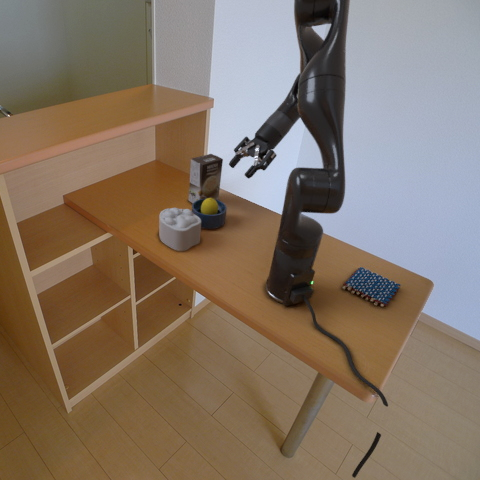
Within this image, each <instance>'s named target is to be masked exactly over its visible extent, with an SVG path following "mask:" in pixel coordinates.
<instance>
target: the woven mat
mask: <svg viewBox="0 0 480 480" xmlns="http://www.w3.org/2000/svg"><path fill="white" fill-rule="evenodd" d="M342 285H343V286H342V290H346V289H347V290H348V291H350V293H351V294H352V295H354V294H355V293H356V295H357V296H359V295H360V294H361V295H360V297H361V298H362V299H363V298H364V297H365V300H366V301H369V302H372V303H373V302H374V303H373V306H376V307H377V306H378V305H379V304H380V307H381V308H383V307H387V305H389V303H390V301H391V300H392V299H393V297H394V296H395V295H396V293H397V292H398V291H399V290H400V289H401V288H400V287H401V286H402V285H401V284H400V283H397V282H396V281H395V280H389V278H388V277H384V276H383V275H381V274H378V273H377V272H373V271H371V270H370V269H367V268H365V267H363V266H361V267H358V268H357V269H356V270H354V272H353V273H352V274H351V275H350V276H349V277H348V279H346V281H345V282H343V284H342Z"/></svg>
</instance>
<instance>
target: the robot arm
mask: <svg viewBox="0 0 480 480" xmlns="http://www.w3.org/2000/svg"><path fill="white" fill-rule="evenodd" d="M350 3H351V0H294V2H293V15H294V16H293V18H294V26H295V32H296V33H295V34H296V38H297V45H298V50H299V73H298V74H297V76H296V77H295V79H294V81H293V84H292V86H291V88H290V90H289V91H288V93H287V95H286V97H285V98H284V100H283V101H282V103H280V105H279V106H278V107H277V108H276V110H274V112H273V113H272V114H270V116H268V117H267V118H266V120H265V121H264V122H263V124H262V125H261V126H260V127H259V128H258V130H257V131H255V133H254V137H253V138H252V139H250V138H249V137H248V136H244V138H243V139H242V140H241V141H240V142H239V143H238V144H237V146H236V147H235V148H233V152H234V153H235V155H234V156H233V157H232V159H230V161H229V163H228V166H229V167H230V168H232V169H235V167H236V166H237V165H238V164H239V163H240V161H241V159H243V158H248V157H251V158H253V159H254V160H253V164H252V165H251V166H250V167H249V168H248V169H247V171H246V172H245V173H244V176H245V178H247V179H251V178H252V177H253V176H254V175H255V174H256V173H257V171H260V170H262V171H266V170H267V169H268V167H269V166H270V165H271V164H272V162H273V161H274V160H275V158H276V157H277V155H278V154H277V153H276V152H275V151H274V149H275V148H276V147H277V146H278V145H279V144H280V142H282V141H283V139H285V137H286V136H287V135H288V133H289V132H290V131H291V129H292V128H293V126H294V125H295V124H296V123H297V122H298V120H301V122H302V123H303V125H304V126H305V128H306V130H307V131H308V133H309V134H310V135H311V137H312V139H313V140H314V142H315V144H316V146H317V148H318V151H319V154H320V158H321V164H322V167H304V166H302V167H301V166H300V167H299V166H298V167H294V168H293V169H292V170H291V171H290V173H289V175H288V178H287V180H286V181H287V182H286V188H285V194H284V201H283V205H282V206H283V207H282V210H281V211H282V212H281V215H280V223H279V227H278V232H277V237H276V242H275V246H274V249H273V255H272V259H271V264H270V268H269V272H268V277H267V279H266V284H265V292H266V294H267V296H269V298H270V299H272V300H273V301H275V302H277V303H280V304H282V306H284V307H289V306H294V305H297V304H300V303H303V302H304V303H305V304H306V306H307V308H308V310H309V312H310V314H311V320H312V323H313V325H314V327H316V329H317V330H318V331H320V333H322V334H323V335H325V336H326V337H329V338H330V339H332V340H334V341H335V342H337V343H338V344H339V345H340V346H341V347H342V348H343V350H344V352H345V354H346V357H347V361H348V364H349V367H350V370H352V372H353V374H354V375H355V376H356V377H357V378H358V380H359V381H361V382H363V384H365V385H366V386H368V387H369V388H371V390H373V391H374V392H375V393H376V394H377V395H378V397H379V398H380V400H381V401H382V404H383V406H384V407H386V408H387V407H389V404H388V401H387V398H386V396H385V395H384V394H383V392H382V391H381V390H380V389H379V388H378V387H377V386H376V385H374V384H373V383H371V382H370V381H369V380H368V379H366V378H365V377H364V376H362V375H361V373H360V372H359V371H358V370H357V368H356V366H355V363H354V361H353V357H352V354H351V352H350V349H349V348H348V346H347V345H346V344H345V343H344V342H343V340H341V339H340V338H338V336H335V335H334V334H331V333H330V332H328V331H326V330H325V329H323V328H322V327H321V326H320V325H319V323H318V321H317V317H316V313H315V310H314V308H313V306H312V305H311V303H310V301H309V299H312V297H313V295H314V293H315V292H314V291H315V289H314V288H312V285H313V283H314V281H313V280H314V277H315V274H316V270H315V269H314V266H315V262H316V258H317V255H318V252H319V248H320V246H321V243H322V239H323V237H324V228H323V226H322V224H321V223H320V222H319V221H317V220H316V219H315V218H312V217H310V216H308V215H305V214H303V213H306V214H307V213H308V214H309V213H310V214H325V215H326V214H328V215H329V214H330V215H332V214H335V213H338V212H339V211H340V210H341V208H342V207H343V204H344V201H345V195H346V166H345V165H346V163H345V148H344V126H345V125H344V123H345V108H346V107H345V106H346V87H347V85H346V84H347V81H346V80H347V77H346V75H347V73H346V72H347V69H346V68H347V67H346V65H347V64H346V63H347V62H346V59H347V57H346V56H347V55H346V54H347V53H346V52H347V49H346V47H347V36H348V23H349V14H350ZM324 25H330V27H329V29H328V31H327V34H326V36H325V38H324V39H323V38H322V37H321V35H320V34H318V33H317V32H316V31H315V29H313V27H318V26H324ZM381 437H382V434H381V433H380V432H378V431H377V432H376V434H375V437H374V439H373V441H372V443H371V445H370V447H369V448H368V450H367V451H366V453H365V454H364V456H363V457H362V459H361V460H360V461H359V463H357V466H356V467H355V469H354V470H353V472H352V474H351V476H352V478H353V479H354V478H356V477H357V476H358V474H359V473H360V472H361V470H362V468H363V466H364V465H365V463H367V461H368V460H369V458H370V457H371V456H372V454H373V453H374V451H375V449H376V447H377V445H378V444H379V442H380V439H381Z"/></svg>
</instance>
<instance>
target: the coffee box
mask: <svg viewBox="0 0 480 480" xmlns="http://www.w3.org/2000/svg"><path fill="white" fill-rule="evenodd" d="M223 163H224V159H223V158H222V157H220V156H218V155H216V154H214V153H213V154H212V153H208V154H204V155H199V156H196V157H192V158H190V169H189V186H188V187H189V188H188V201H189V202H190V203H191V204H193V203H194V202H195V201H197V200H199V199H206V198H213V199H216V200H219V198H220V190H221V189H220V188H221V181H222V180H221V179H222V170H223Z"/></svg>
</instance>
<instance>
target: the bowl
mask: <svg viewBox="0 0 480 480" xmlns="http://www.w3.org/2000/svg"><path fill="white" fill-rule="evenodd" d="M206 199H207V198H206ZM204 200H205V199H199V200H197V201H195V202H194V203H192V205H191V211H192V213H193V214H195V215H196V216H198V217H199V218H200V219H201V229H207V230H210V229H211V230H213V229H219V228H221V227H222V226H224V225H225V223H226V218H227V209H228V207H227V205H226V203H224V202H223V201H221V200H219V199H218V200H216V199H214V200H216V202H217V204H218V213H217V214H216V215H206V214H202V213H201V205H202V203H203V201H204Z"/></svg>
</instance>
